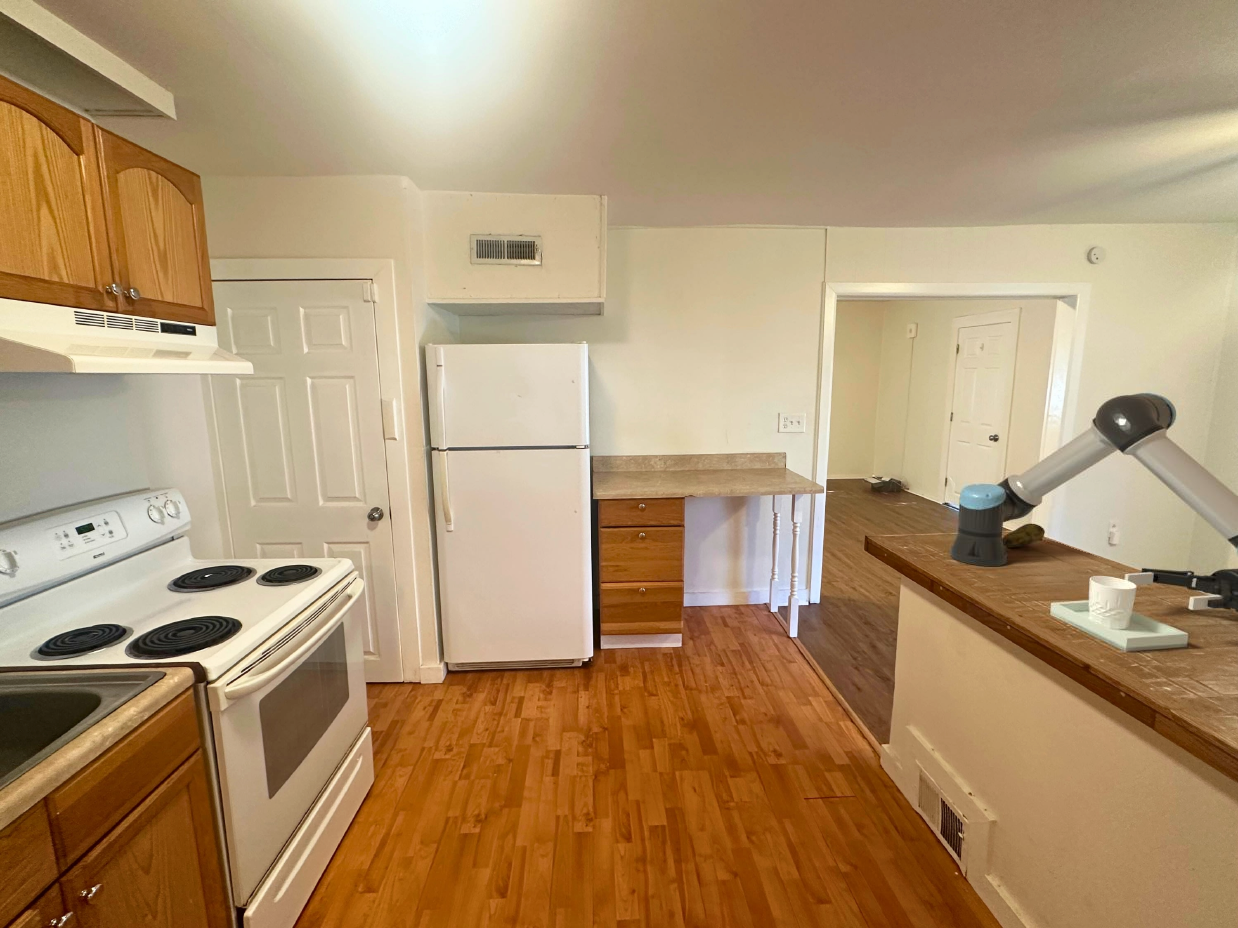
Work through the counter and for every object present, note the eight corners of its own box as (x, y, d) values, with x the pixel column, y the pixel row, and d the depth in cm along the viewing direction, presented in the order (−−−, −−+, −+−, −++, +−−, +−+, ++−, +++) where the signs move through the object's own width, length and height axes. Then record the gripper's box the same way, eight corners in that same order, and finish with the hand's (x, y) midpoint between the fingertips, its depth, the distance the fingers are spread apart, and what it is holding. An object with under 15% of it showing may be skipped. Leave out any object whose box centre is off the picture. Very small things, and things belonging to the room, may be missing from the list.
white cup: (1140, 632, 117) (1146, 589, 115) (1099, 629, 118) (1103, 587, 117) (1116, 616, 124) (1121, 576, 123) (1077, 614, 126) (1081, 575, 124)
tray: (1050, 614, 128) (1051, 602, 128) (1103, 610, 129) (1104, 598, 129) (1125, 651, 111) (1127, 638, 110) (1186, 646, 111) (1188, 633, 111)
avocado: (994, 542, 182) (995, 520, 181) (1037, 544, 179) (1039, 521, 178) (1004, 550, 174) (1006, 526, 173) (1050, 551, 171) (1052, 528, 170)
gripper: (1314, 624, 109) (1220, 632, 107) (1179, 580, 133) (1101, 585, 132) (1320, 590, 108) (1225, 597, 106) (1183, 552, 132) (1104, 557, 131)
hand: (1156, 590), depth 119 cm, fingers open, 13 cm apart
